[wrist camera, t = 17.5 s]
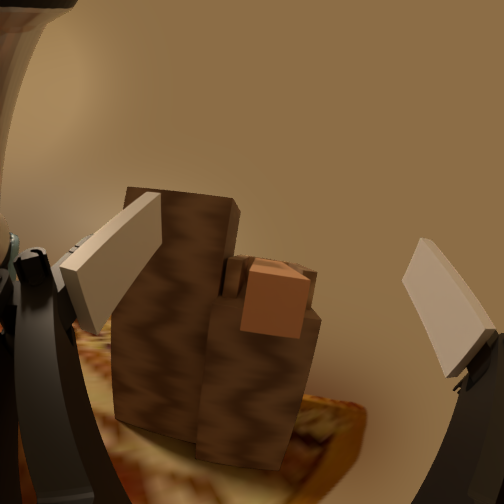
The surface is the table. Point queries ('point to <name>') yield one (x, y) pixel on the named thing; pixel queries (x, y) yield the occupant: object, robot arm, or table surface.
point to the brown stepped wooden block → (206, 342)
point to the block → (274, 299)
